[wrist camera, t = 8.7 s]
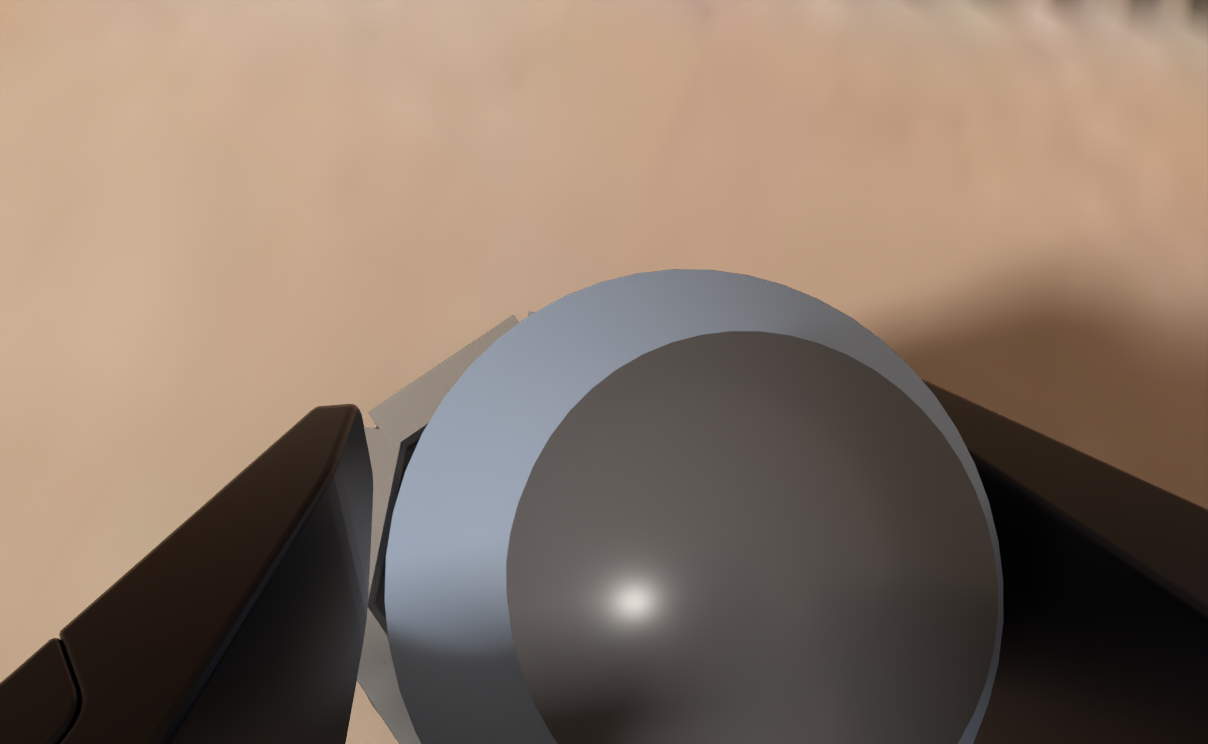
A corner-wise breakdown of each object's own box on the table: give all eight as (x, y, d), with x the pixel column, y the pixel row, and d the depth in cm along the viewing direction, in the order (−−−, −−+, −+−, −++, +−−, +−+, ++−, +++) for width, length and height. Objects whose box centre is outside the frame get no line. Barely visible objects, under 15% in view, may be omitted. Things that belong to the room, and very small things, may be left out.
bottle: (732, 518, 16) (1232, 459, 5) (613, 724, 15) (923, 1218, 4) (544, 395, 16) (636, 73, 5) (412, 592, 15) (168, 719, 4)
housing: (879, 597, 17) (916, 601, 15) (519, 906, 15) (519, 948, 13) (617, 255, 18) (626, 226, 16) (250, 502, 16) (221, 497, 14)
